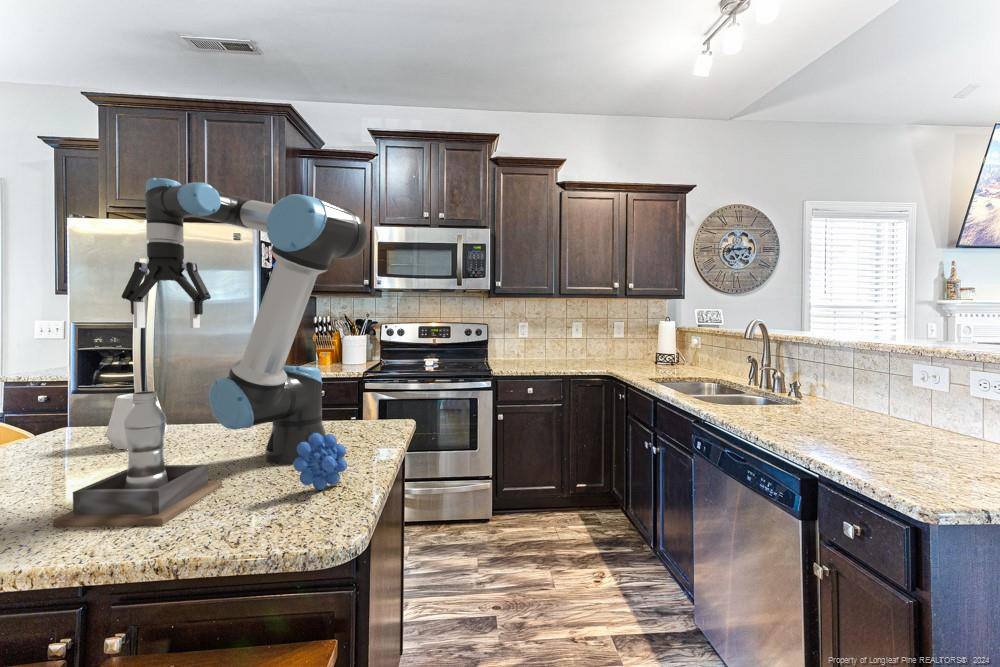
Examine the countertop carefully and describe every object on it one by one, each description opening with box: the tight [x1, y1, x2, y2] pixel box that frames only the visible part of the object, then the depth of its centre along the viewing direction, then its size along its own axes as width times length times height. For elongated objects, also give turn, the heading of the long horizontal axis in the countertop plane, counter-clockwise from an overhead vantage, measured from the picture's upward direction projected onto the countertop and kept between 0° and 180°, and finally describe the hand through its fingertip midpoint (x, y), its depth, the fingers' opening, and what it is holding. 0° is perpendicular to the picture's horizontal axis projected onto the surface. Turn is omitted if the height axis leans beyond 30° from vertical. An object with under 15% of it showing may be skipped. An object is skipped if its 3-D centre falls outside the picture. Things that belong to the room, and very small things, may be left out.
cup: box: [105, 393, 168, 450], centre depth 128 cm, size 13×13×14 cm
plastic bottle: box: [124, 390, 168, 489], centre depth 87 cm, size 6×7×20 cm
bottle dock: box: [52, 464, 223, 528], centre depth 87 cm, size 18×18×5 cm
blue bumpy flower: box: [292, 433, 348, 491], centre depth 94 cm, size 12×7×12 cm, turn 141°
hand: (167, 328), depth 116 cm, fingers open, 13 cm apart
